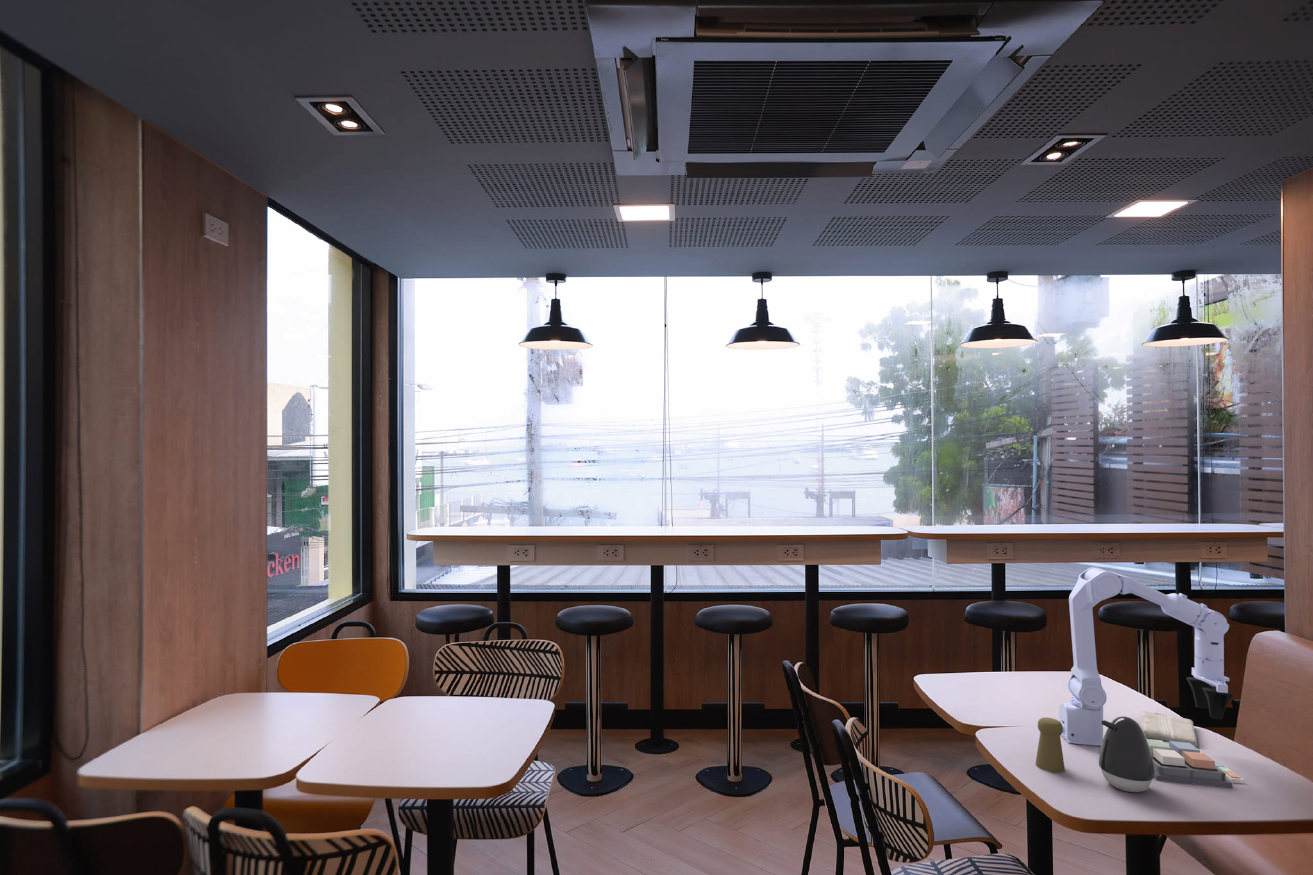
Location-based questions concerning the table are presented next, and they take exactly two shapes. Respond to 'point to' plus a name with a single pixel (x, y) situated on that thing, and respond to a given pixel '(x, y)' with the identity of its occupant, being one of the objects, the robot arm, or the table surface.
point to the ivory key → (1169, 757)
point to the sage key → (1157, 745)
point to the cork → (1050, 746)
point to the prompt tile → (1229, 773)
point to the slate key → (1182, 747)
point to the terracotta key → (1198, 760)
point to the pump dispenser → (1126, 756)
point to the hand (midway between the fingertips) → (1209, 713)
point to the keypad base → (1190, 774)
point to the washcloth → (1168, 728)
